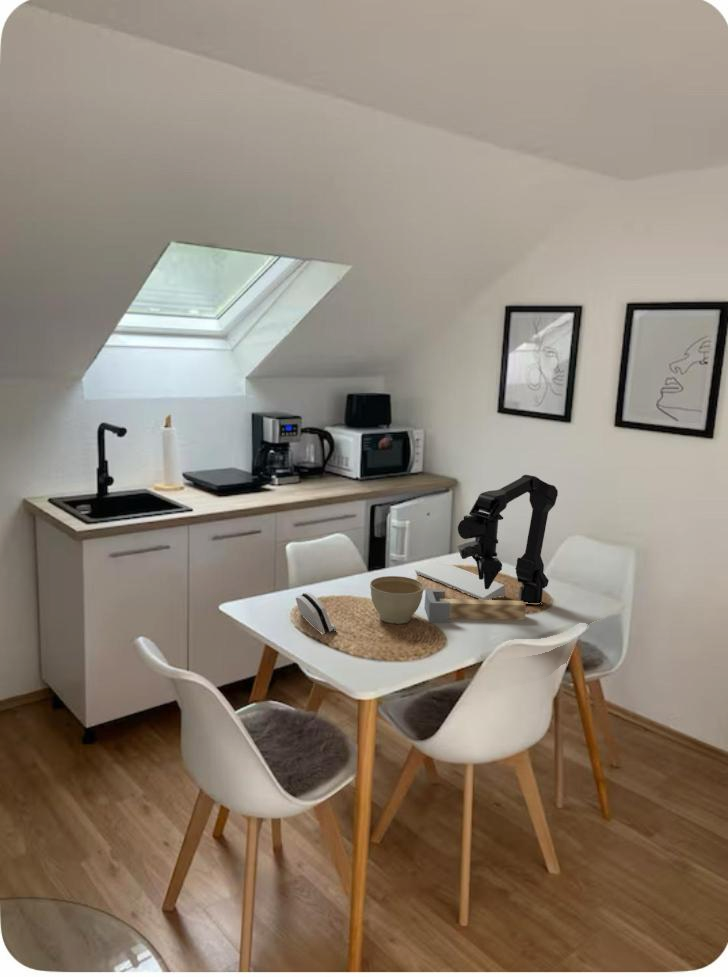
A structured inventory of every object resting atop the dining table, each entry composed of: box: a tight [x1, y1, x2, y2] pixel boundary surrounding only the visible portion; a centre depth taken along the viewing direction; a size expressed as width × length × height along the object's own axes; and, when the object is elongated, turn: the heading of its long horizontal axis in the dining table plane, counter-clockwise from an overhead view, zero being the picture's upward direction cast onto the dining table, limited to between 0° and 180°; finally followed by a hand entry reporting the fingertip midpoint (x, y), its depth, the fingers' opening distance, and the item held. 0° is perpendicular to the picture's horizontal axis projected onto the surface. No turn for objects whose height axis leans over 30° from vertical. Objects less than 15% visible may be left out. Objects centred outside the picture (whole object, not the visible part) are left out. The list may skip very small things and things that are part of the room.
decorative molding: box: [414, 558, 507, 600], centre depth 261 cm, size 34×5×10 cm
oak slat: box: [439, 598, 527, 620], centre depth 231 cm, size 26×4×5 cm, turn 92°
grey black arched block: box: [295, 591, 338, 633], centre depth 219 cm, size 17×5×10 cm, turn 26°
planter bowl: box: [369, 575, 425, 625], centre depth 226 cm, size 16×16×11 cm
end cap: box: [424, 589, 450, 623], centre depth 231 cm, size 6×12×6 cm, turn 2°
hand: (483, 584), depth 230 cm, fingers open, 9 cm apart
